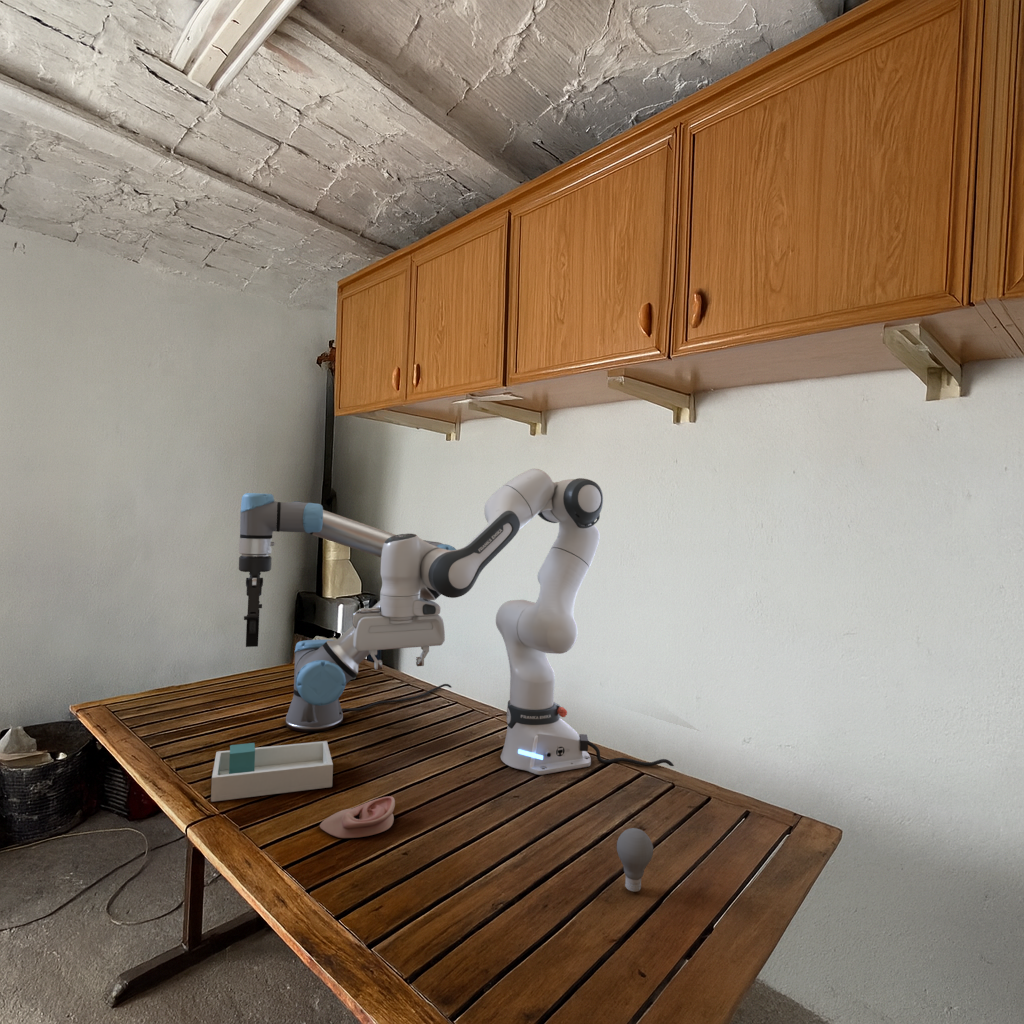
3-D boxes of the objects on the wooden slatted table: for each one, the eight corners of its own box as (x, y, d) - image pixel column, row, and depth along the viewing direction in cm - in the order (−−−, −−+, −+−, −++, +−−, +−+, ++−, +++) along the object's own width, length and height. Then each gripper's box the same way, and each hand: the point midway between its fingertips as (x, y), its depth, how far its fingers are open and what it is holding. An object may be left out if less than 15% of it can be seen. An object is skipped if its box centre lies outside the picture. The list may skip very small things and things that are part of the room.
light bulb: (610, 878, 109) (613, 821, 108) (645, 878, 109) (647, 821, 109) (619, 901, 103) (622, 840, 103) (655, 900, 103) (658, 839, 103)
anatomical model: (312, 812, 119) (340, 786, 130) (311, 833, 119) (340, 805, 130) (378, 823, 116) (401, 795, 127) (377, 844, 116) (401, 814, 127)
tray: (210, 802, 130) (211, 777, 129) (215, 773, 143) (216, 751, 142) (332, 787, 138) (333, 764, 138) (326, 761, 151) (326, 740, 151)
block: (229, 776, 139) (230, 745, 139) (253, 773, 141) (254, 742, 141) (228, 786, 134) (229, 753, 134) (254, 783, 136) (255, 751, 136)
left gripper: (272, 560, 147) (268, 651, 147) (271, 550, 170) (268, 629, 171) (237, 560, 144) (233, 652, 145) (240, 550, 168) (238, 630, 168)
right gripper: (354, 611, 135) (353, 675, 136) (447, 606, 143) (446, 667, 143) (350, 606, 141) (350, 667, 142) (440, 601, 149) (439, 660, 149)
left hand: (252, 640), depth 158 cm, fingers open, 13 cm apart
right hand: (399, 667), depth 143 cm, fingers open, 8 cm apart
